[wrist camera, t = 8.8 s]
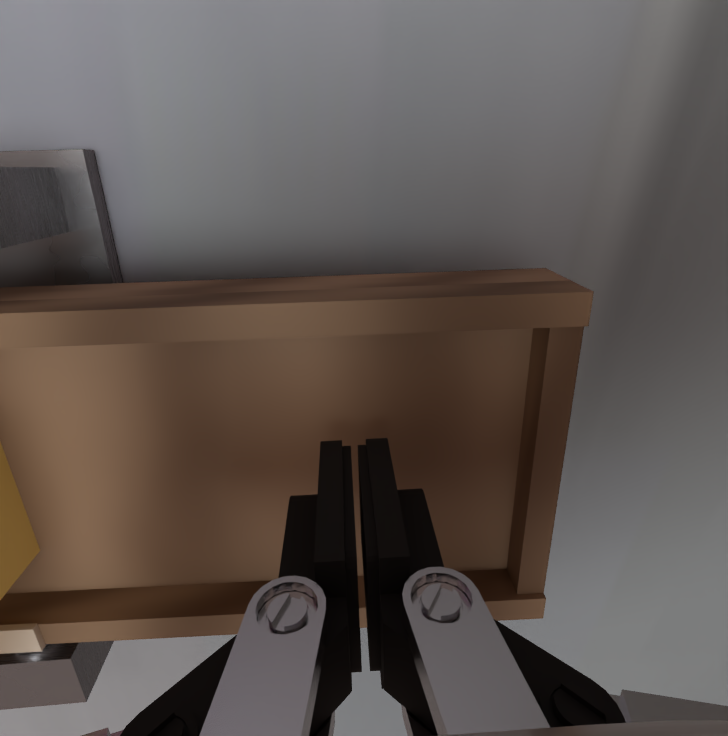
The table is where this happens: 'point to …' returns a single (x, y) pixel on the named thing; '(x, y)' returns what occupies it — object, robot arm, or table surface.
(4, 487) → the block
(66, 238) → the stand
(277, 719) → the robot arm
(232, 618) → the beam
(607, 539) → the table surface
